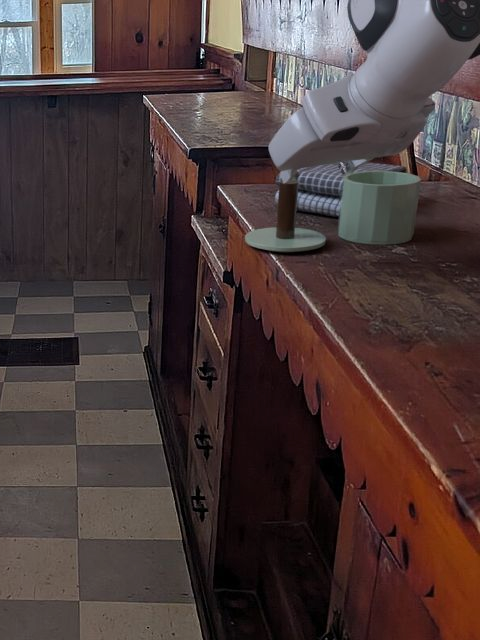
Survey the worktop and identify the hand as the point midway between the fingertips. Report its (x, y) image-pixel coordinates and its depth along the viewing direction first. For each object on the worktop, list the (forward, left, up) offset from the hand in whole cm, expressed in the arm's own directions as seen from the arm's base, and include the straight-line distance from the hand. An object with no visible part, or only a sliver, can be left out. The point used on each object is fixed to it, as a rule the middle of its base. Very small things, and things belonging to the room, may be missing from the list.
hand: (315, 174), depth 117 cm
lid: (+4, -2, -10) cm, 12 cm away
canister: (-5, -13, -11) cm, 18 cm away
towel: (+5, -29, -11) cm, 31 cm away
